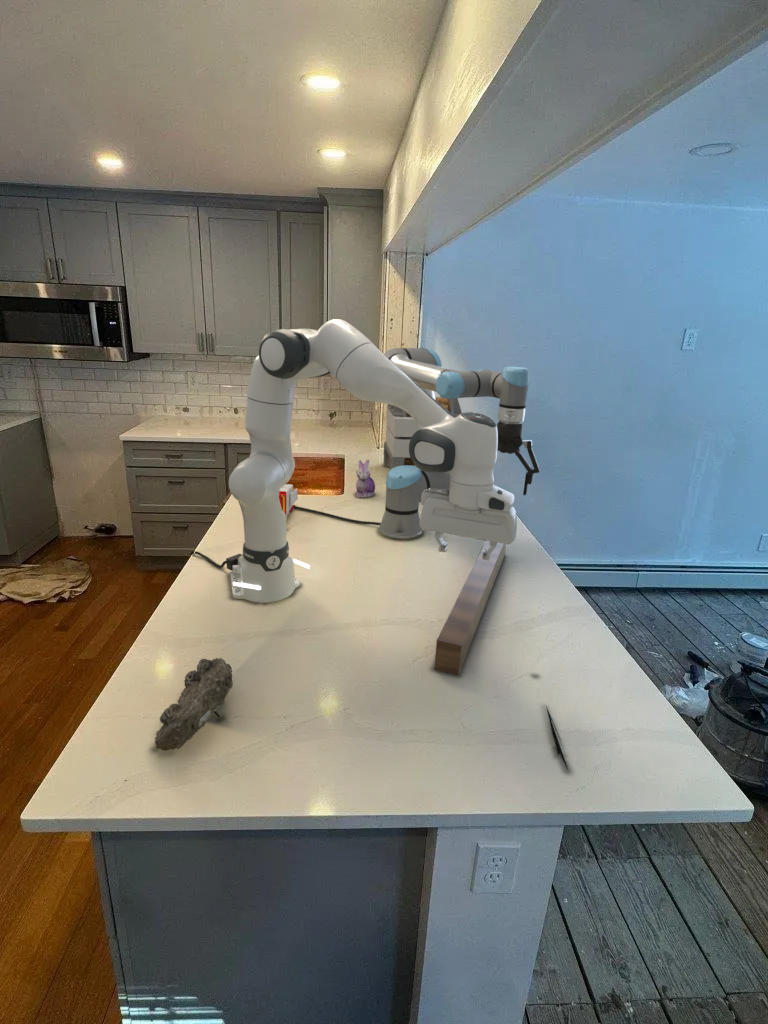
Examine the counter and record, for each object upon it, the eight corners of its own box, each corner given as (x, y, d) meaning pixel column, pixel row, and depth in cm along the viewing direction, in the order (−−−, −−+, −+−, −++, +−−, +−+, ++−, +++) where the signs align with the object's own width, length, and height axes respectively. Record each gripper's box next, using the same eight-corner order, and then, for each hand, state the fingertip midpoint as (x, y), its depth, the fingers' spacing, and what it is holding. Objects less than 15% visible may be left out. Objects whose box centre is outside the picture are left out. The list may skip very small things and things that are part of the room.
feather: (536, 679, 125) (541, 673, 125) (567, 774, 99) (575, 766, 98) (529, 675, 125) (535, 669, 124) (559, 769, 98) (567, 762, 98)
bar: (487, 553, 187) (490, 532, 185) (504, 556, 186) (507, 535, 183) (434, 669, 125) (436, 640, 123) (458, 675, 124) (461, 645, 121)
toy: (299, 479, 223) (289, 492, 194) (299, 512, 226) (289, 530, 197) (268, 478, 223) (253, 491, 193) (268, 512, 225) (254, 529, 196)
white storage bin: (382, 463, 289) (386, 382, 275) (445, 464, 293) (451, 384, 279) (390, 482, 257) (394, 392, 243) (460, 483, 261) (468, 394, 247)
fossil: (182, 659, 118) (233, 627, 113) (214, 689, 120) (265, 659, 115) (130, 744, 98) (189, 710, 93) (170, 778, 101) (229, 746, 96)
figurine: (360, 499, 233) (361, 464, 228) (349, 492, 242) (350, 458, 237) (380, 497, 237) (381, 462, 232) (369, 490, 246) (370, 456, 241)
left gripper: (417, 490, 117) (413, 551, 121) (518, 505, 111) (509, 569, 115) (425, 482, 122) (421, 541, 127) (522, 496, 116) (513, 557, 121)
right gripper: (465, 419, 166) (459, 488, 173) (553, 428, 159) (543, 500, 166) (470, 415, 173) (464, 482, 180) (555, 424, 165) (545, 493, 173)
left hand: (464, 554), depth 121 cm, fingers open, 8 cm apart
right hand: (502, 490), depth 173 cm, fingers open, 13 cm apart
